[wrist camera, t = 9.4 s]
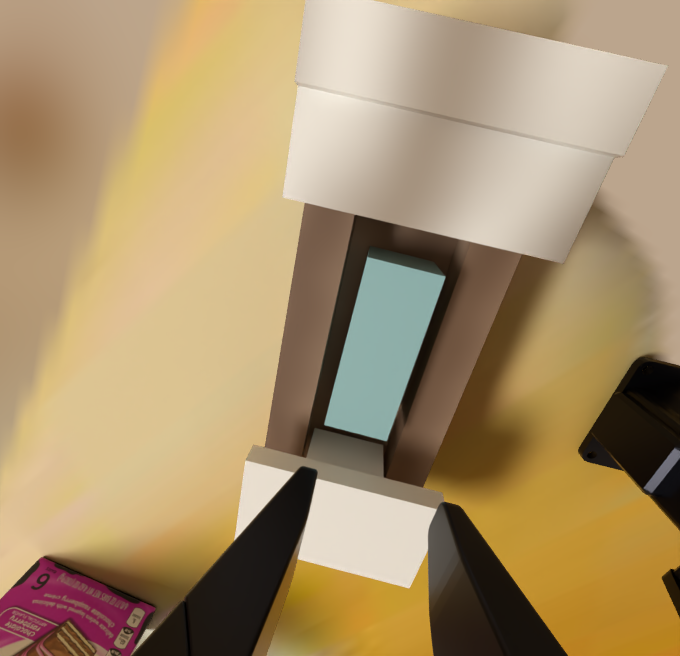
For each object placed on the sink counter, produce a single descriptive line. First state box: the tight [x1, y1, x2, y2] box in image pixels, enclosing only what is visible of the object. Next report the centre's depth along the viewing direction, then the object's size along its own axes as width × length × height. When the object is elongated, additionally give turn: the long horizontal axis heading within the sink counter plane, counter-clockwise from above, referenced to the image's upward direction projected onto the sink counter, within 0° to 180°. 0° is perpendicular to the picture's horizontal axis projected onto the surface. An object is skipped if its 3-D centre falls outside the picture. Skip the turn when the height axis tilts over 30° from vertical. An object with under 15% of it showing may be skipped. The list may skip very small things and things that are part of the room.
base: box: [265, 0, 668, 488], centre depth 15 cm, size 9×20×6 cm, turn 168°
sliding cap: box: [235, 428, 444, 588], centre depth 18 cm, size 9×6×4 cm, turn 78°
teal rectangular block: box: [324, 246, 446, 441], centre depth 15 cm, size 8×3×3 cm, turn 167°
